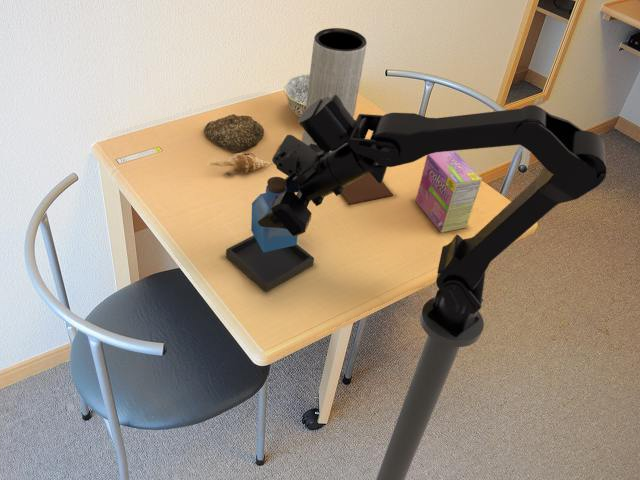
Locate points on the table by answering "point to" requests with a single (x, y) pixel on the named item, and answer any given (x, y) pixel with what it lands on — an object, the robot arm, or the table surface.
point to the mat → (365, 190)
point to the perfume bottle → (261, 206)
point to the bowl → (297, 93)
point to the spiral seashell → (242, 162)
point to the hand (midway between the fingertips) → (267, 208)
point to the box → (448, 190)
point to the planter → (335, 69)
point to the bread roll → (234, 132)
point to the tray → (268, 262)
